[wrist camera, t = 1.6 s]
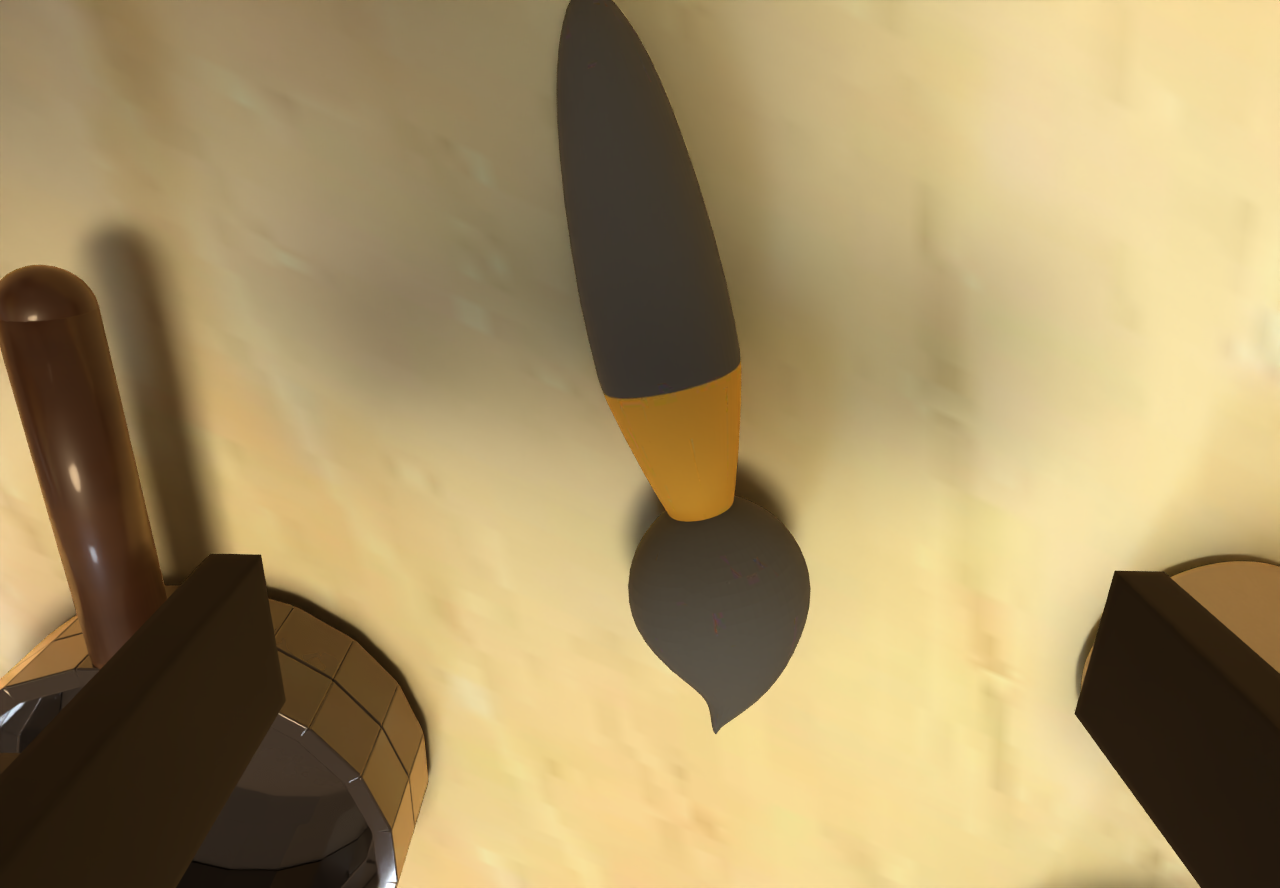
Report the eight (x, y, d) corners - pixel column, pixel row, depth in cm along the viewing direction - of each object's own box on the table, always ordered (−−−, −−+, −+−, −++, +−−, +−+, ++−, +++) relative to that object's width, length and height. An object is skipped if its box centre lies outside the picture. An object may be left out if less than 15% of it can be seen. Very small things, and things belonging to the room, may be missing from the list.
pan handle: (20, 256, 19) (-46, 273, 17) (107, 258, 19) (51, 275, 17) (127, 660, 23) (84, 708, 22) (198, 661, 23) (161, 709, 22)
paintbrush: (439, 46, 20) (382, 31, 15) (638, -26, 19) (640, -64, 15) (676, 680, 27) (685, 799, 22) (823, 641, 27) (864, 755, 22)
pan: (-18, 572, 25) (-146, 665, 21) (413, 579, 25) (371, 673, 21) (84, 879, 30) (-2, 1002, 26) (443, 882, 31) (413, 1005, 26)
